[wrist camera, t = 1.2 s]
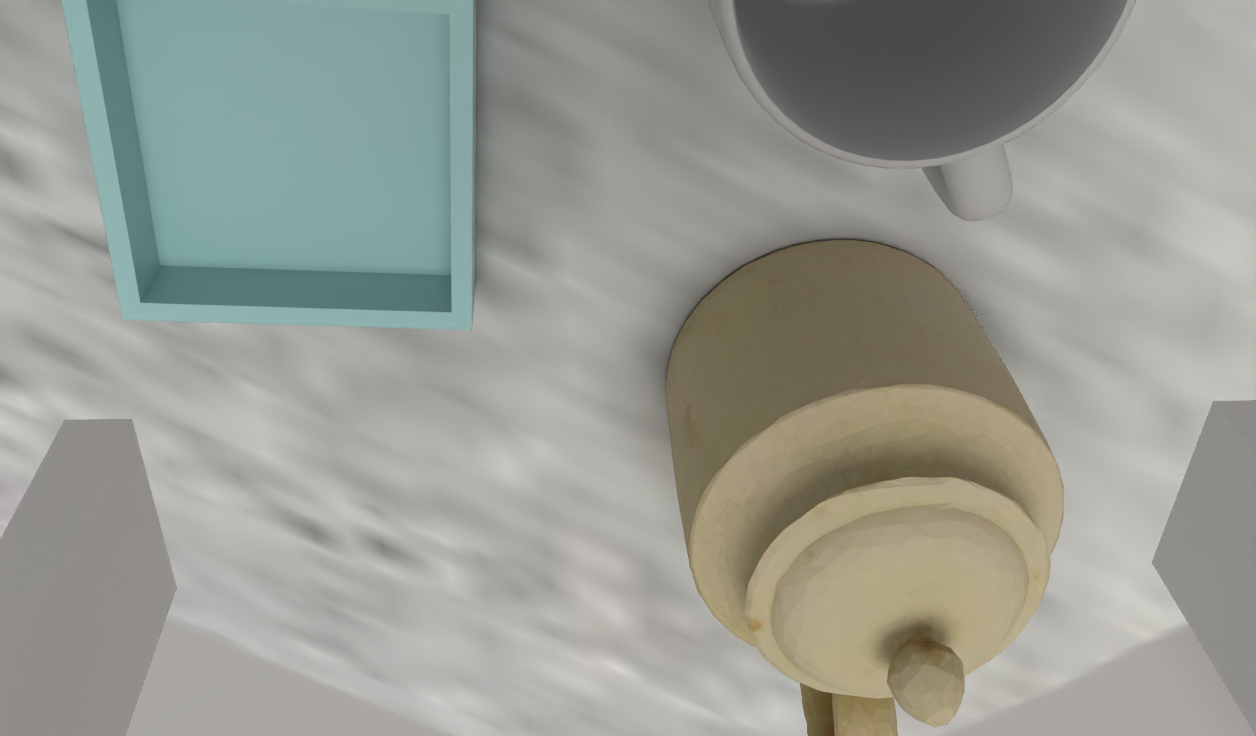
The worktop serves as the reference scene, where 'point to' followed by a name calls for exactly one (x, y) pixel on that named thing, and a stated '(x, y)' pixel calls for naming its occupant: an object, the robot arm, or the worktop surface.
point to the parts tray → (284, 157)
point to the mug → (919, 78)
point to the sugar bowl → (859, 480)
